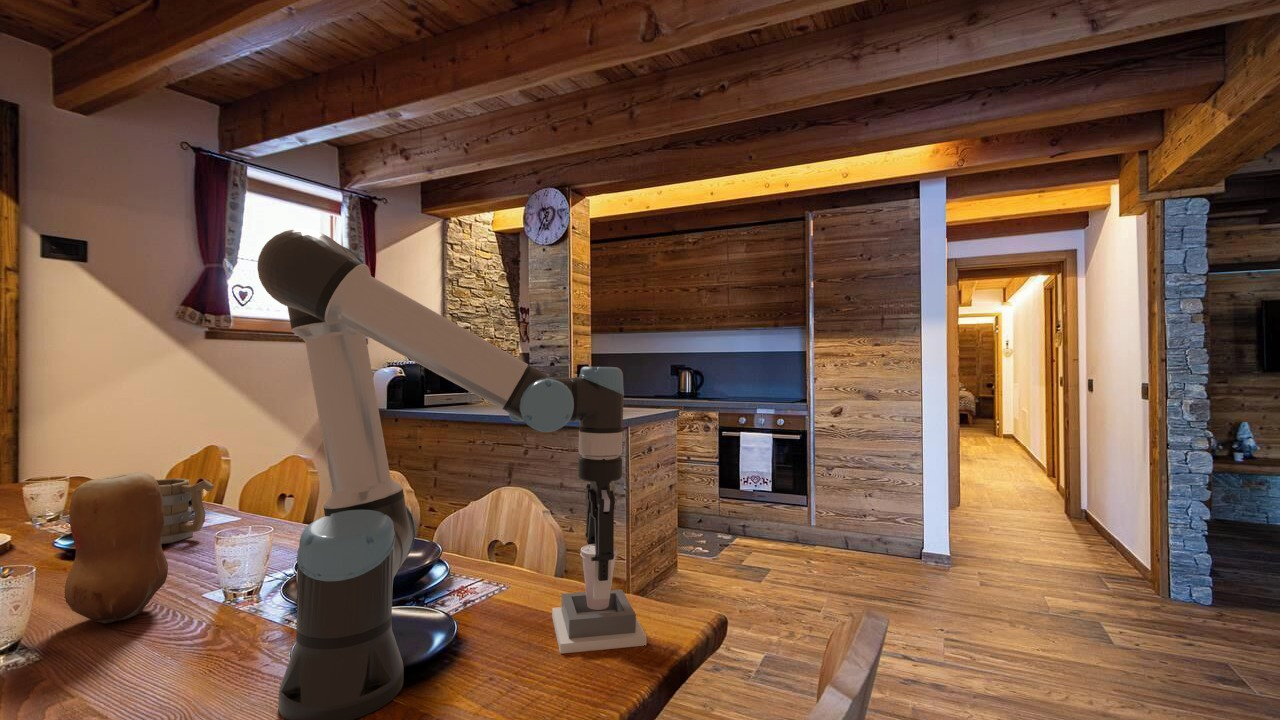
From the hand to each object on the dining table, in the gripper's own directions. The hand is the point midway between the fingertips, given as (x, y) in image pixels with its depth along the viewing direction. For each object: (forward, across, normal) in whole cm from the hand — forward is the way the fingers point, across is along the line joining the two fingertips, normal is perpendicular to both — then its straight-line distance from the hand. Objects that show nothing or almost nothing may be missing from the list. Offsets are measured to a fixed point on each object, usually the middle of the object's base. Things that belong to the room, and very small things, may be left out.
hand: (597, 590), depth 100 cm
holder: (+7, 0, 0) cm, 7 cm away
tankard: (+7, +70, +95) cm, 118 cm away
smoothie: (+3, 0, 0) cm, 3 cm away
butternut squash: (+7, +20, +80) cm, 83 cm away
